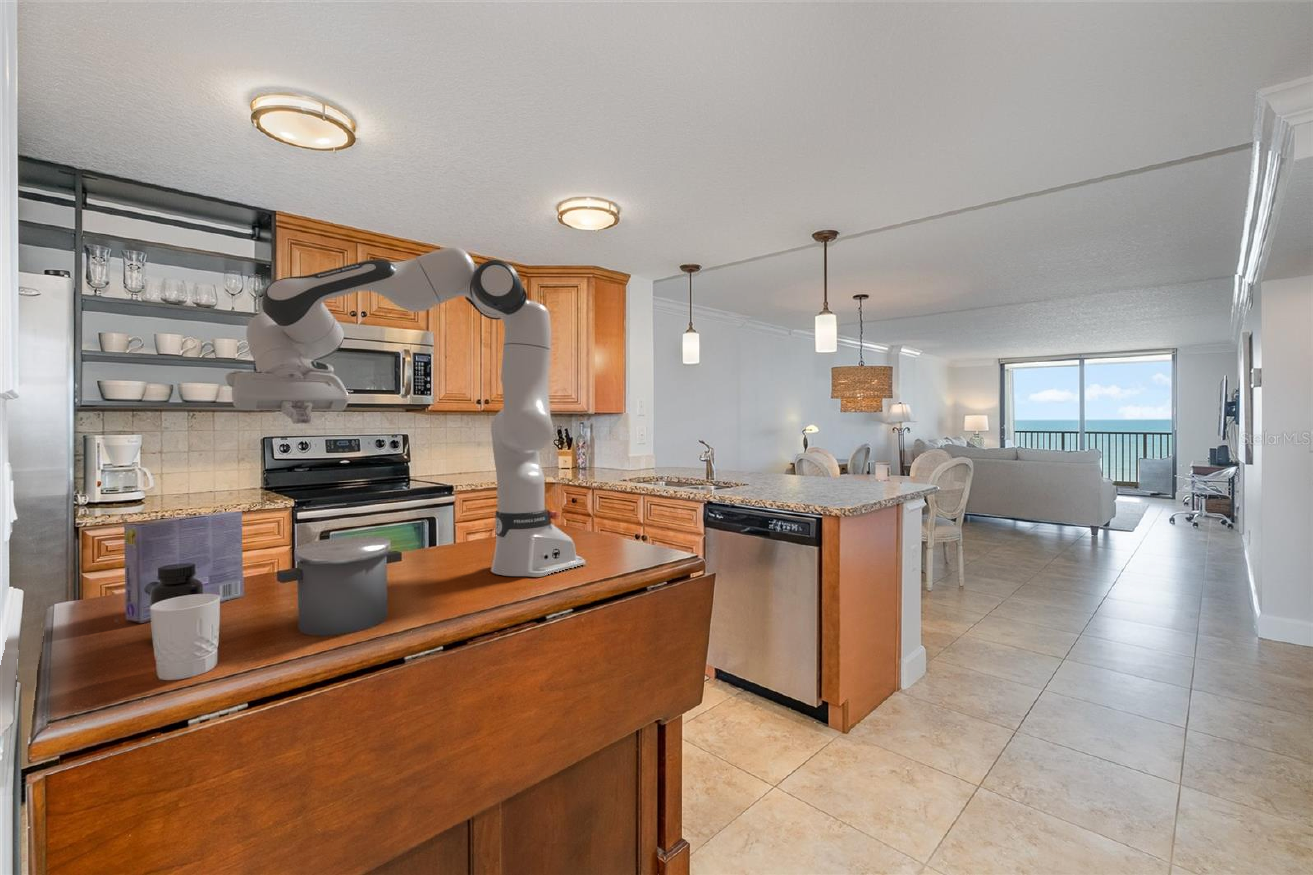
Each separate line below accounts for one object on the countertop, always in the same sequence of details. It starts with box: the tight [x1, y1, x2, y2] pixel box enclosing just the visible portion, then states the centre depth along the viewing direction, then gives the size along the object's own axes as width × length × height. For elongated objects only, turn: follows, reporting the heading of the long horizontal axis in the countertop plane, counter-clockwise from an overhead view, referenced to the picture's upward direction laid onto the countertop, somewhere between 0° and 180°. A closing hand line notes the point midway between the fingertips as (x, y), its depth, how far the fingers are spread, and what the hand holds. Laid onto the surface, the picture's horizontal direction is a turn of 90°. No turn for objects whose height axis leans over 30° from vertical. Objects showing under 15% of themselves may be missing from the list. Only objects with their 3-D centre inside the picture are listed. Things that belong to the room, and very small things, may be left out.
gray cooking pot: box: [276, 550, 403, 637], centre depth 105 cm, size 20×14×12 cm
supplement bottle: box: [150, 563, 203, 643], centre depth 98 cm, size 7×7×12 cm
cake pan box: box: [123, 510, 244, 624], centre depth 114 cm, size 19×5×18 cm, turn 157°
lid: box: [294, 535, 392, 564], centre depth 105 cm, size 15×15×2 cm
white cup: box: [150, 594, 221, 681], centre depth 85 cm, size 8×8×10 cm
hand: (302, 421), depth 117 cm, fingers closed
